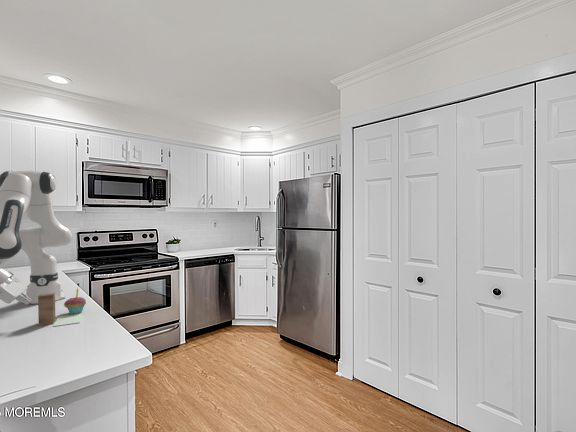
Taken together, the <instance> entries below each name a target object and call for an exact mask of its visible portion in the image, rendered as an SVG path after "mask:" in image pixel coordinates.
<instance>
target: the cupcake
mask: <svg viewBox="0 0 576 432" xmlns="http://www.w3.org/2000/svg"><path fill="white" fill-rule="evenodd" d="M75 292H76V294H75V297H71V298H68V299H67V300H66V301H64V303H63V306H64V308H67V311H68V313H69V315H75V314H82V312H83V309H84V307H85V306H86V304H87V301H86V299H85V298H84V297H82V296H79V287H77V288H76V291H75Z"/></svg>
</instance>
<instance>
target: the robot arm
mask: <svg viewBox="0 0 576 432" xmlns="http://www.w3.org/2000/svg"><path fill="white" fill-rule="evenodd" d="M56 187H57V181H56V177H55V175H53V173H51V172H48V171H47V172H46V171H36V170H16V171H13V170H8V171H4V172H2V173H1V174H0V213H1V218H0V300H1V301H2V302H4V303H5V304H7V305H10V304H11V303H12V302H13V301H14V300H16V301H18V302H21V303H22V304H24V305H29V304H33V305H35V304H38V296H39V295H40V294H44V293H54V292H55V302H56V301H58V300H63V299H67V298H66V297H67V296H66V294H65V293H64V292H63V289H62V283H61V282H60V281H59V280H58V279H59V274H58V269H57V268H58V265H57V262H58V261H57V258H56V257H55V256H54V255H52V254H49V253H47V252H46V251H45V248H46V249H47V248H48V249H50V248H60V247H65V246H68V245H69V244H71V242H72V240H73V234H72V231H71V230H70V228H68V227H67V226H65V225H63V224H61V222H59V220H58V219H57V217H56V215H55V212H54V207H53V199H52V194H51V193H52V192H54V191H55V190H56ZM25 213H26V217H27V218H28V219H29V220H30V221H31V222H34V223H36V224H38V225H39V227H37V226H36V227H35V226H32V227H24V228H20V226H21V223H22V222H21V221H22V218H23V215H24V214H25ZM21 250H22V251H23V252H24V253H25V255H27V257H28V259H29V265H30V275H29V284H27V285H26V284H25V283H24V282H23V281H22V280H20V278H18V277H16V276H15V273H14V272H11V271H8V270H6V269H5V268H3V267H2V266H3V265H6V264H7V263H9V262H11V261H12V260H13V258H14V257H16V255H17V254H18V253H19V252H20V251H21Z"/></svg>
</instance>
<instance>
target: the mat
mask: <svg viewBox="0 0 576 432" xmlns="http://www.w3.org/2000/svg"><path fill="white" fill-rule="evenodd" d="M82 317H83V313H79V314H68V315H61V316H60V315H59V316H57V318H56V319H55V322H54V324H52V327H61V326H68V325H75V324H76V325H77V324H80V323H81V320H82Z"/></svg>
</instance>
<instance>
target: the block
mask: <svg viewBox="0 0 576 432" xmlns="http://www.w3.org/2000/svg"><path fill="white" fill-rule="evenodd" d="M37 305H38V307H37V308H38V309H37V310H38V311H37V313H38V314H37V317H38V326H39V327H40V326H46V325H47V326H49V325H54V324H55V322H56V301H55V292H54V293H44V294H40V295H39V296H38V303H37Z"/></svg>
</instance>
